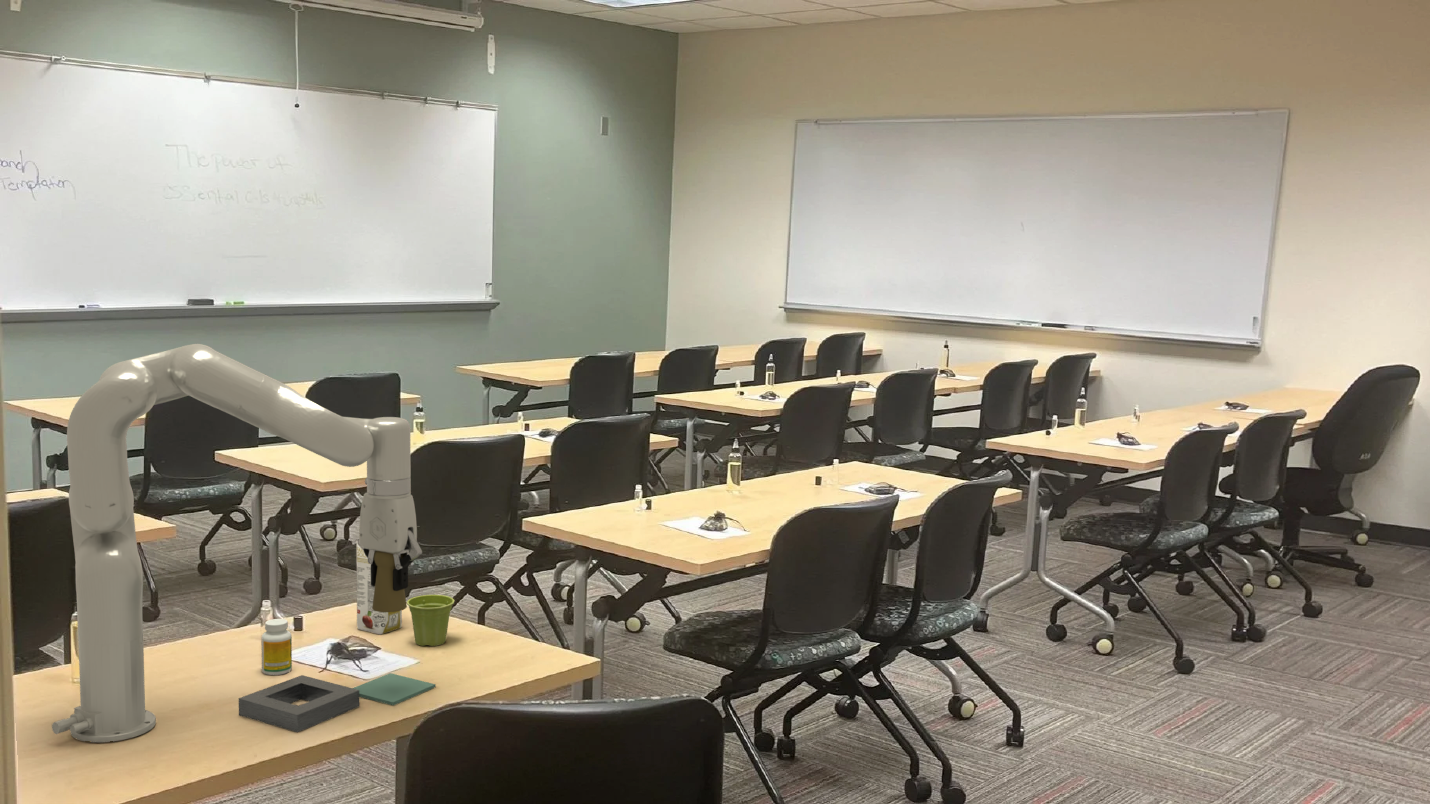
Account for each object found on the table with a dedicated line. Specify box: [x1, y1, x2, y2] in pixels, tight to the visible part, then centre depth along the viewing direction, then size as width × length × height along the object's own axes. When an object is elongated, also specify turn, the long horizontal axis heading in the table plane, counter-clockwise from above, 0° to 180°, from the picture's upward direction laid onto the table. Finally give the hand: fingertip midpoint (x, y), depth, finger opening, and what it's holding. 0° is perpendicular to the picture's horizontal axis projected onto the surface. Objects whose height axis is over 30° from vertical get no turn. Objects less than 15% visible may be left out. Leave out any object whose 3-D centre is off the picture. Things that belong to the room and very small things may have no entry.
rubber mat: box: [352, 672, 436, 706], centre depth 226 cm, size 11×11×1 cm
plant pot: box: [406, 594, 455, 647], centre depth 253 cm, size 9×9×9 cm
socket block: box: [238, 674, 361, 733], centre depth 215 cm, size 14×14×3 cm
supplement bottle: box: [260, 618, 293, 676], centre depth 234 cm, size 5×5×10 cm
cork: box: [372, 551, 408, 612], centre depth 223 cm, size 6×6×11 cm
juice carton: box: [356, 542, 403, 635], centre depth 261 cm, size 8×9×19 cm
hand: (389, 585), depth 223 cm, fingers closed on cork, 4 cm apart
